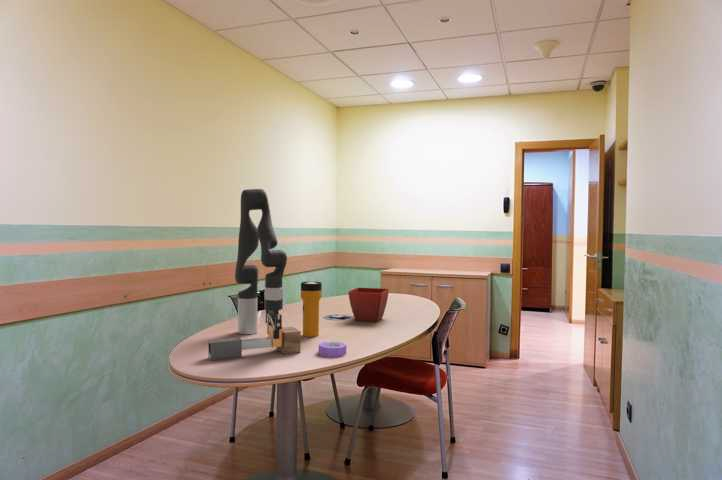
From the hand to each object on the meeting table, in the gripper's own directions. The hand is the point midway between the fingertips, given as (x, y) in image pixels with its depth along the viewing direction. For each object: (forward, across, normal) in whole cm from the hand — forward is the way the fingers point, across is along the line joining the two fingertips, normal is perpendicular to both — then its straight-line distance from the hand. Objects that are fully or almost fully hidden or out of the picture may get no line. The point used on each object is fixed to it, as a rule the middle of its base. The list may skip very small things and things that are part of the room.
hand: (273, 336), depth 207 cm
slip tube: (+4, 0, -5) cm, 6 cm away
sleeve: (+7, 0, -20) cm, 21 cm away
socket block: (+7, 0, +7) cm, 9 cm away
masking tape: (+7, +11, +22) cm, 26 cm away
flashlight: (+7, -23, +26) cm, 35 cm away
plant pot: (+7, -47, +71) cm, 85 cm away
